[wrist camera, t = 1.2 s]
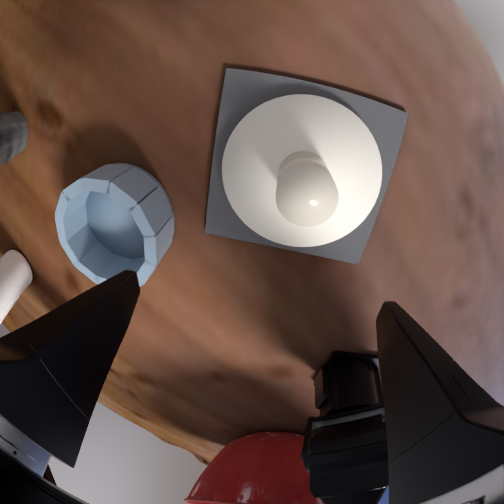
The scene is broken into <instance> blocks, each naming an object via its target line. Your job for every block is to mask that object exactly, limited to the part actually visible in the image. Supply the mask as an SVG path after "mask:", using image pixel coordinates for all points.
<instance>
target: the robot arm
mask: <svg viewBox="0 0 504 504" xmlns="http://www.w3.org/2000/svg"><path fill="white" fill-rule="evenodd" d="M139 294H140V286H139V281H138V277H137V273H136V272H135V271H133V270H124V271H122V272H120V273H118V274H116V275H114V276H113V277H111V278H109V279H107V280H105V281H103V282H102V283H100V284H98V285H96V286H94V287H92V288H91V289H89V290H87V291H85V292H83V293H82V294H80V295H78V296H76V297H75V298H73V299H71V300H69V301H68V302H66V303H64V304H62V305H61V306H59V307H57V308H55V309H54V310H52V311H50V312H49V313H47V314H45V315H43V316H42V317H40V318H38V319H36V320H34V321H33V322H31V323H29V324H27V325H25V326H23V327H21V328H19V329H17V330H15V331H13V332H11V333H9V334H7V335H5V336H3V337H1V338H0V504H89V503H87V502H85V501H83V500H81V499H79V498H77V497H75V496H73V495H71V494H70V493H68V492H66V491H64V490H62V489H61V488H59V487H57V485H56V483H55V480H54V478H53V475H52V473H51V470H50V467H49V465H48V462H49V459H50V457H51V456H53V457H54V458H56V459H57V460H59V461H61V462H63V463H65V464H66V465H68V466H70V467H72V468H74V466H75V463H76V460H77V457H78V454H79V451H80V447H81V444H82V441H83V439H84V436H85V432H86V430H87V427H88V424H89V421H90V418H91V415H92V413H93V410H94V407H95V405H96V402H97V400H98V397H99V394H100V392H101V389H102V387H103V384H104V382H105V379H106V377H107V375H108V372H109V370H110V367H111V365H112V363H113V360H114V358H115V356H116V353H117V351H118V349H119V347H120V344H121V342H122V340H123V338H124V335H125V333H126V331H127V329H128V326H129V323H130V320H131V317H132V315H133V312H134V309H135V306H136V303H137V300H138V297H139ZM376 330H377V347H378V356H372V355H362V354H352V353H343V352H333V353H331V355H330V356H329V358H328V360H327V361H326V363H325V365H324V366H322V367H321V369H320V371H319V372H318V374H317V375H316V377H315V381H314V386H315V407H316V408H317V409H320V416H318V417H309V418H308V424H307V425H306V430H305V436H304V442H303V448H302V452H301V455H300V458H301V460H302V461H303V462H304V466H305V469H306V471H307V472H309V473H310V482H309V490H310V492H311V493H312V495H313V496H314V498H319V499H320V500H321V501H322V503H323V504H379V501H380V499H381V497H382V496H383V494H384V492H385V490H386V488H387V487H388V485H389V504H504V406H502V405H501V404H499V403H498V402H496V401H495V400H494V399H493V398H492V397H491V396H490V395H489V394H488V393H487V392H486V391H485V390H484V389H483V388H482V387H480V386H479V385H478V384H477V383H476V382H475V381H474V380H473V379H472V378H471V377H470V376H469V375H468V374H467V373H466V372H465V371H464V370H463V369H462V368H461V367H460V366H459V365H458V364H457V363H456V362H455V361H453V358H452V357H451V356H450V355H449V354H448V353H447V352H446V351H445V350H444V349H443V348H442V347H441V346H440V345H439V344H438V343H437V342H436V341H435V340H434V339H433V338H432V337H431V336H430V335H429V334H428V333H427V332H426V331H425V330H424V329H423V328H422V327H421V326H420V325H419V324H418V323H417V322H416V321H415V320H414V319H413V318H412V317H411V316H410V315H409V314H408V313H407V312H406V311H405V310H404V309H402V308H401V307H400V306H399V305H398V304H397V303H396V302H394V301H385V302H384V303H383V305H382V307H381V310H380V312H379V314H378V316H377V319H376ZM379 369H380V374H379ZM380 375H381V379H380ZM381 383H382V384H381Z"/></svg>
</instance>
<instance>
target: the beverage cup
mask: <svg viewBox="0 0 504 504" xmlns="http://www.w3.org/2000/svg"><path fill="white" fill-rule="evenodd" d="M27 140H28V126H27V121H26V119H25V117H24V115H23V114H22V113H21V112H19V111H14V112H9V113H7V112H5V113H0V166H1V165H2V164H4V163H6V162H7V161H9V160H10V159H12V158H13V157H14V156H16V155H17V154H19V153H21V152H22V151H23V150H24V149H25V147H26V144H27Z"/></svg>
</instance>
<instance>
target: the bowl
mask: <svg viewBox="0 0 504 504" xmlns="http://www.w3.org/2000/svg"><path fill="white" fill-rule="evenodd" d="M55 221H56V226H57V232H58V237H59V241H60V244H61V245H62V247H63V249H64V250H65V252H66V254H67V255H68V257H69V258H70V260H71V262H72V263H73V265H74V266H75V265H76V266H75V267H76V268H77V269H78V270H80V271H81V272H82V273H83V274H84V275H86V276H87V277H88V278H89V279H91V280H92V281H93V282H95V283H97V284H100V283H102V282H103V281H105V280H107V279H109V278H111V277H113V276H114V275H116V274H118V273H120V272H122V271H124V270H133V271H135V272H136V273H137V277H138V281H139V286H143V285H144V284H145V282H146V281H147V279H148V278H149V277H150V275H151V274H152V272H153V271H154V270H155V268H156V267H157V265H158V264H159V262H160V261H161V259H162V258H163V256H164V255H165V253H166V252H167V250H168V249H169V247H170V246H171V244H172V239H173V236H174V232H175V213H174V209H173V205H172V202H171V200H170V198H169V196H168V194H167V192H166V190H165V189H164V188H163V186H162V185H161V184H160V182H159V181H158V180H157V179H156V178H155V177H154V176H152V175H151V174H150V173H149V172H147V171H146V170H144V169H142V168H140V167H138V166H136V165H133V164H128V163H112V164H105V165H103V166H101V167H100V168H98V169H96V170H94V171H92V172H90V173H89V174H87V175H85V176H83V177H82V178H80V179H78V180H77V181H75V182H74V183H73V184H71V185H70V186H68V187H67V188H65V189H64V190H63V191H62V192H61V195H60V198H59V201H58V205H57V208H56V212H55Z"/></svg>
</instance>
